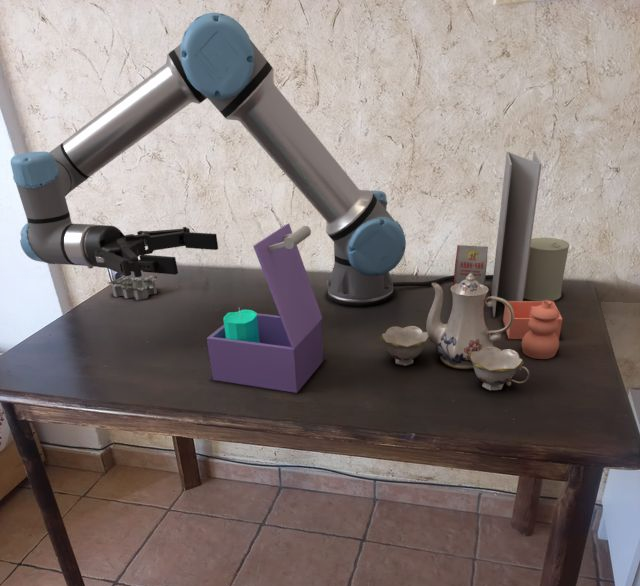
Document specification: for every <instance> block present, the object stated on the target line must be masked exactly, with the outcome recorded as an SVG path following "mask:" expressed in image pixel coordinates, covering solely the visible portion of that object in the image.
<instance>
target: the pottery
mask: <svg viewBox="0 0 640 586" xmlns="http://www.w3.org/2000/svg"><path fill="white" fill-rule="evenodd" d="M507 302H509V303H510V305H511V306H512V308H513V311H514V321H513V323H512V325H511V326H510V328H509V329H507V330H506V331H505V332H506V335H507V338H508V340H521V349H522V353H523V354H524V356H527V357H529V358H532V359H536V360H549V359H551V358H554V357H555V356H556V354H557V352H558V350H559V347H560V335H561V330H562V326H563V317H562V315H561V313H560V311H559V309H558V307H557V305H556V302H555V300H554V301H531V300H523V301H507ZM502 321H503V325H504V327H506V326H507V325H508V323H509V321H510V311H509V309H508V308H507V306H506V305H504V311H503V319H502Z"/></svg>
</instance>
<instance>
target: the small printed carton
mask: <svg viewBox="0 0 640 586" xmlns="http://www.w3.org/2000/svg"><path fill="white" fill-rule="evenodd" d="M488 253H489V246H485V245H468V244H467V245H465V244H457V247H456V254H455V263H454V273H453V275H454V279H453V285H452V286H454V285H455V284H460V283H461V282H462V281H463V280H466V277H467V276H468V275H469V274H470V273H472V274H473V276H474V277H475V279H474V280H476V281H478V282H479V284H482V285H484V286H486V279H485V277H486V275H487V267H488Z"/></svg>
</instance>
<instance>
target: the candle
mask: <svg viewBox="0 0 640 586" xmlns="http://www.w3.org/2000/svg"><path fill="white" fill-rule="evenodd" d="M257 313H258V312H256V311H254V310H253V309H246V308H245V309H241V308H240V307H238V311H232V312H231V311H230V312H227V313H226V314H225V315H224V316H223V318H222V319H223V325H224V328H225V335H226V339H232V340H240V341H248V342H256V343H260V340H259V330H258V321H257Z"/></svg>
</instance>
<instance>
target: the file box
mask: <svg viewBox="0 0 640 586" xmlns="http://www.w3.org/2000/svg"><path fill="white" fill-rule="evenodd" d="M256 313H257V321H258V330H259V340H260V343H256V342H248V341H240V340H232V339H226V335H225V328H224V324H223V325H221V326H219V327H218V328H217V329H216V330H215V331H214V332H213V333H211V334H210V335H209V336H208V337H206V344H207V349H208V355H209V363H210V369H211V374H212V380H213V381H218V382H223V383H229V384H230V383H231V384H237V385H243V386H249V387H250V386H251V387H256V388H263V389H269V390H275V391H281V392H282V391H283V392H287V393H288V392H289V393H294V394H297V393H298V392H300V390H301V389H302V388H303V386H305V384H306V383H307V382H308V380H309V379H310V378H311V377H312V376H313V375H314V373H315V372H316V371H317V369H318V368H319V367H320V366H321V365H322V363H323V362H324V354H323V353H324V352H323V351H324V350H323V336H322V335H323V333H322V332H323V331H322V319H321V320H320V321H319V322H318V323H317V324H316V326H315V327H314V328H313V329H312V330H311V331H310V332H309V333H308V334H307V335H306V336H305V337H304V338H303V339H302V340H301V341H300V342H299V344H298V345H297V346H296V347H294V348H292V346H291V344H290V341H289V338H288V336H287V333H286V330H285V328H284V325H283V323H282V320H281V317H280V315H275V314H267V313H260V312H259V313H258V312H256Z"/></svg>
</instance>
